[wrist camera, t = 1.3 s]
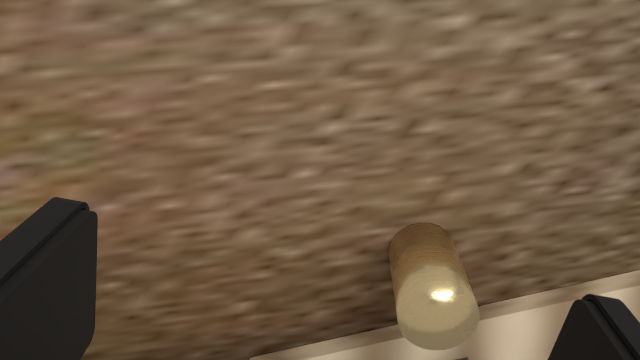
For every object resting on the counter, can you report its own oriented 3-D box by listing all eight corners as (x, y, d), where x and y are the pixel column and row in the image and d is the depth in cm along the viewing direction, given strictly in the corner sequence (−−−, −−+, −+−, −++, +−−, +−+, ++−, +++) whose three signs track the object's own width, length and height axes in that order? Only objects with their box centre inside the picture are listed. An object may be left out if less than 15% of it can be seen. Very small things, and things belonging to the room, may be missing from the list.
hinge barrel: (465, 231, 35) (491, 294, 28) (443, 286, 37) (463, 357, 30) (399, 215, 35) (411, 275, 28) (380, 272, 36) (387, 340, 30)
